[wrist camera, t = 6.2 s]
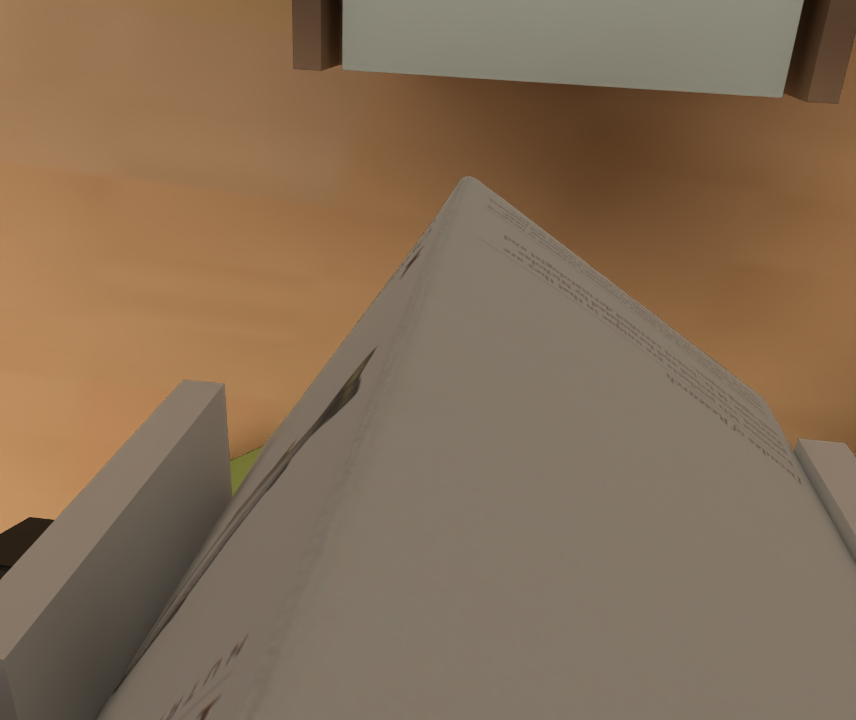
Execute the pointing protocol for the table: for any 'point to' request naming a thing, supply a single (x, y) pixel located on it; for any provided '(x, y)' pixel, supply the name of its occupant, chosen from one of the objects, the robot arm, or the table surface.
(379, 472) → the supplement box
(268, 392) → the table surface
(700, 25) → the lid
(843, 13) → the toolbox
